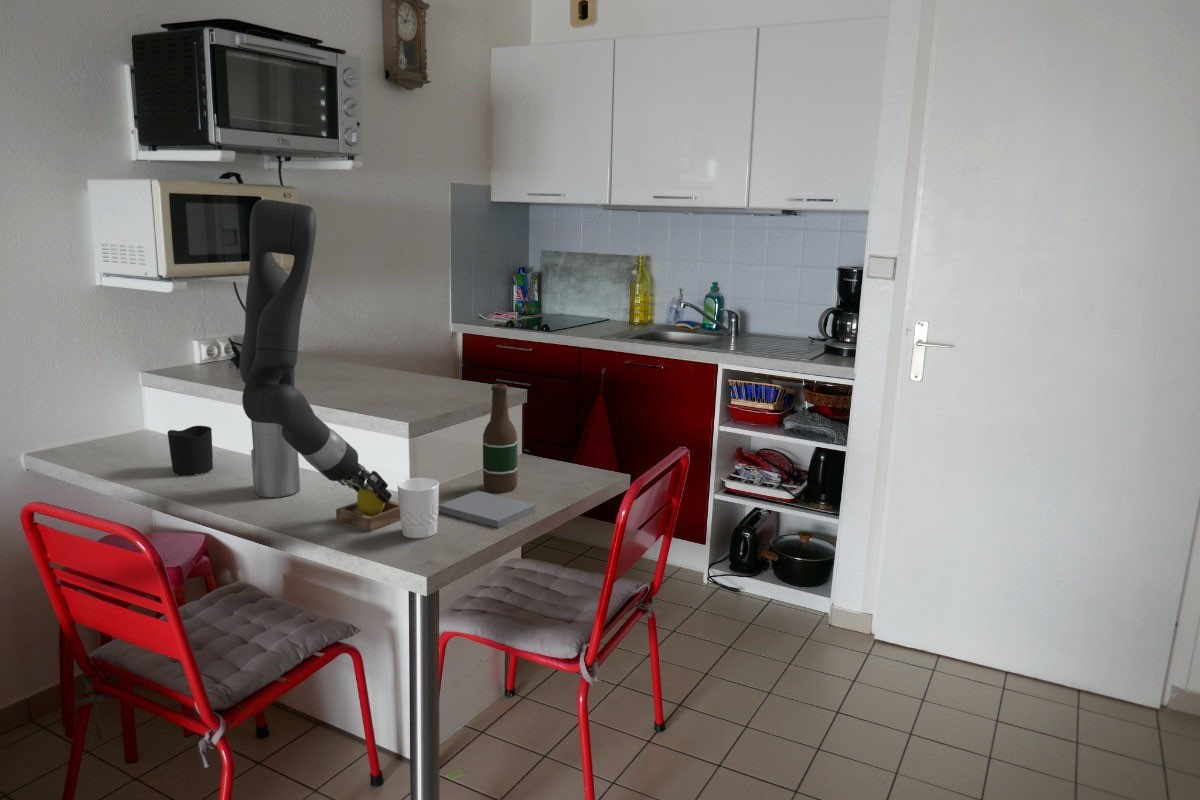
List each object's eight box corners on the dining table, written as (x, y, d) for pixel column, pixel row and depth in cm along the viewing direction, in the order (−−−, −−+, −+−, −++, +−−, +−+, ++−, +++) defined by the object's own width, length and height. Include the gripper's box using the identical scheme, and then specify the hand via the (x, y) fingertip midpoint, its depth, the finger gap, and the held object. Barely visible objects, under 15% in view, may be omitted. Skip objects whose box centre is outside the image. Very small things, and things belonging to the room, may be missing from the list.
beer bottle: (484, 494, 196) (483, 388, 191) (482, 483, 204) (480, 381, 198) (519, 492, 198) (519, 387, 192) (515, 482, 205) (515, 381, 200)
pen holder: (207, 476, 205) (204, 435, 203) (165, 477, 204) (161, 435, 202) (219, 465, 214) (216, 425, 212) (179, 465, 213) (175, 425, 211)
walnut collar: (336, 520, 178) (336, 509, 178) (374, 507, 186) (373, 496, 186) (371, 531, 173) (370, 519, 172) (408, 517, 181) (407, 505, 180)
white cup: (442, 525, 177) (441, 477, 174) (436, 540, 169) (435, 490, 167) (403, 525, 176) (401, 477, 174) (395, 540, 169) (393, 490, 166)
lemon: (359, 513, 182) (358, 476, 180) (387, 513, 182) (386, 476, 181) (355, 523, 176) (354, 485, 175) (383, 523, 177) (382, 484, 175)
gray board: (439, 512, 184) (439, 505, 184) (477, 497, 194) (477, 490, 194) (498, 528, 176) (498, 520, 175) (534, 511, 185) (535, 504, 185)
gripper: (364, 442, 165) (412, 487, 178) (314, 430, 173) (363, 474, 185) (343, 476, 162) (393, 519, 175) (293, 462, 170) (344, 505, 182)
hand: (377, 496), depth 180 cm, fingers closed on lemon, 5 cm apart
